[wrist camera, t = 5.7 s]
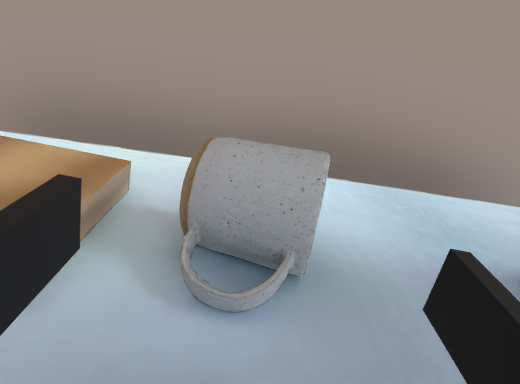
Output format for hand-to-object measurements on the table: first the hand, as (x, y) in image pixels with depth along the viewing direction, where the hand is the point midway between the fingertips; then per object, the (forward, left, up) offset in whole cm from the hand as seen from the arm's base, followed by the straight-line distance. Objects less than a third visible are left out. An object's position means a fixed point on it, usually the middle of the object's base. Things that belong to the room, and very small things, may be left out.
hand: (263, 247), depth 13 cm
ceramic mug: (0, -9, -6) cm, 11 cm away
